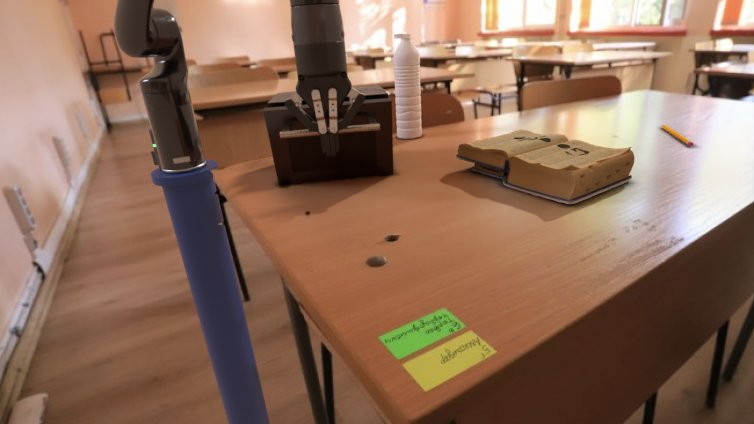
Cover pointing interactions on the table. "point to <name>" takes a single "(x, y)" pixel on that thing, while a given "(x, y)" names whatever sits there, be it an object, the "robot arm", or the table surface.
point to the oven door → (357, 144)
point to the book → (549, 164)
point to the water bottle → (407, 88)
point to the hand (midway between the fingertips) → (331, 155)
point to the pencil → (677, 135)
